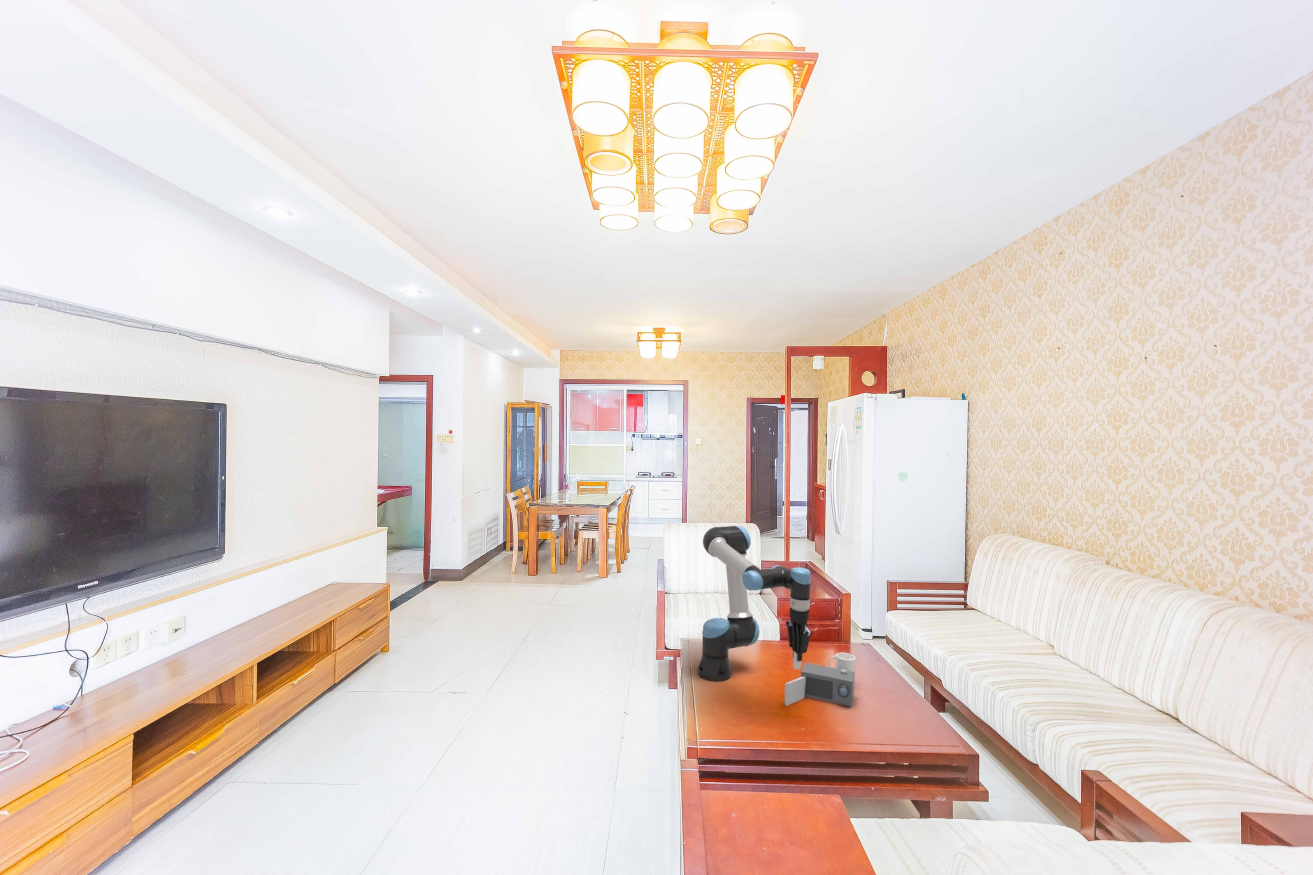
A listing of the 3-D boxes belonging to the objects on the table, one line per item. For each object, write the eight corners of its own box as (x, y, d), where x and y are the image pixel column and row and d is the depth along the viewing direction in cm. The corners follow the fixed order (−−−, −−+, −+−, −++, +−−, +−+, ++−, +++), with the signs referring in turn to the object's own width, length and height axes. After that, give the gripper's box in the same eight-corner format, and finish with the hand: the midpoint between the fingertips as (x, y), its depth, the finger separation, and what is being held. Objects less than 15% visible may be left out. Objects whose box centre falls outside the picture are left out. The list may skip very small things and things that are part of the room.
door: (801, 695, 221) (802, 674, 221) (805, 697, 219) (806, 676, 219) (782, 703, 214) (783, 682, 214) (786, 705, 212) (787, 684, 212)
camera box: (799, 697, 219) (800, 670, 219) (804, 685, 230) (805, 659, 230) (851, 708, 211) (852, 681, 211) (854, 696, 222) (854, 669, 222)
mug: (824, 680, 236) (824, 652, 236) (834, 674, 242) (834, 648, 242) (849, 690, 227) (849, 661, 227) (859, 684, 233) (859, 656, 233)
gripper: (781, 604, 215) (778, 662, 215) (803, 614, 203) (800, 676, 203) (796, 602, 218) (793, 659, 218) (818, 612, 206) (815, 673, 207)
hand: (797, 667), depth 211 cm, fingers closed
